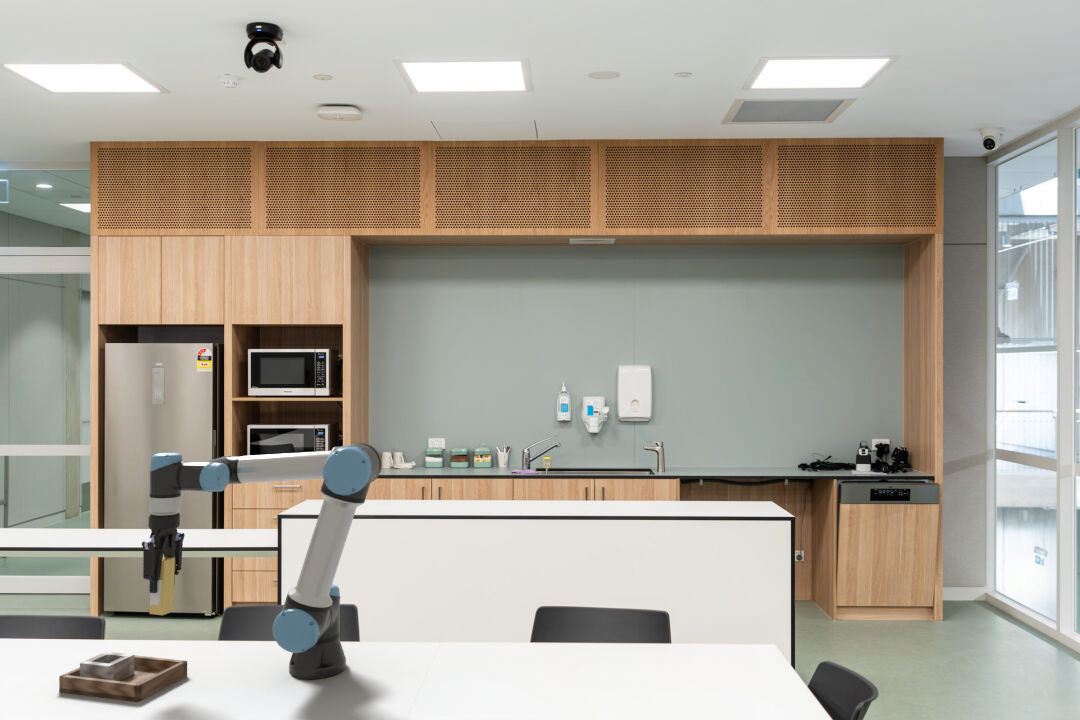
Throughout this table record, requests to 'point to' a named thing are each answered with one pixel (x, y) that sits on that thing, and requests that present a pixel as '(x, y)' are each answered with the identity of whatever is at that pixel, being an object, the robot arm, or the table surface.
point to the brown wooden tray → (122, 676)
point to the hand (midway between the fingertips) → (161, 602)
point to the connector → (166, 587)
